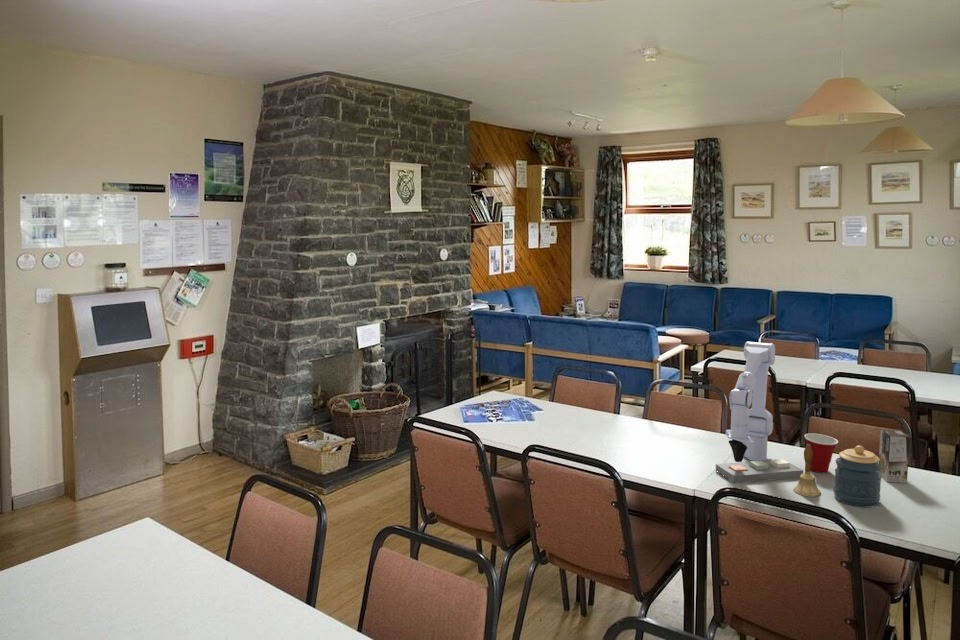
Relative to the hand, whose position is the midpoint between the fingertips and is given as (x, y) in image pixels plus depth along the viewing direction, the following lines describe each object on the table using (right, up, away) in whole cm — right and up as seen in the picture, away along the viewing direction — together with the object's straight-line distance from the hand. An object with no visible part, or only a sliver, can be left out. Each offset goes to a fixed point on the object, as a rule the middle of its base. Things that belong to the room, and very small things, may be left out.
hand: (738, 461), depth 240 cm
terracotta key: (0, -4, +1) cm, 4 cm away
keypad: (+8, -5, +2) cm, 9 cm away
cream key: (+16, -3, +3) cm, 16 cm away
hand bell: (+17, -7, -14) cm, 23 cm away
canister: (+29, -8, -21) cm, 37 cm away
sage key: (+8, -3, +2) cm, 9 cm away
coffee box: (+51, -5, -3) cm, 52 cm away
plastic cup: (+31, -4, +5) cm, 31 cm away
